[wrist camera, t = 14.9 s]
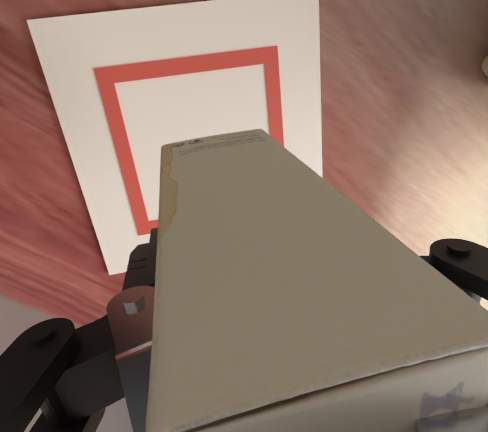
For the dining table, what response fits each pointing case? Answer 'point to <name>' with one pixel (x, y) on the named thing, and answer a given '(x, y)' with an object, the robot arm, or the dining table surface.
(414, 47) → the dining table surface
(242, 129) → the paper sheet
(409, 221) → the dining table surface
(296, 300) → the skincare box
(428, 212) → the dining table surface
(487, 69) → the ceramic sculpture
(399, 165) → the dining table surface
